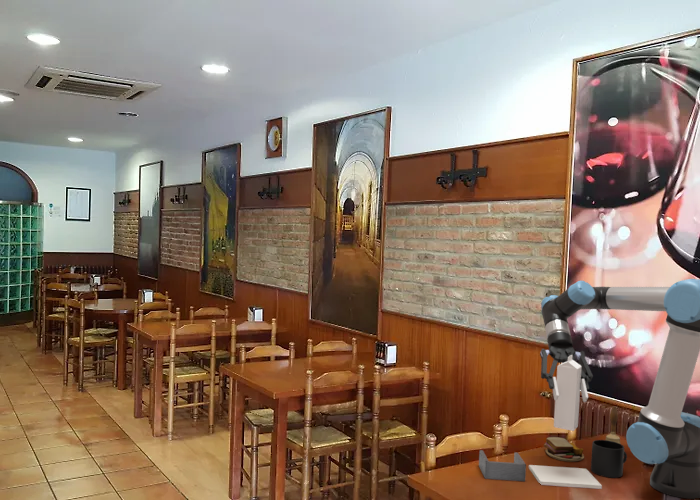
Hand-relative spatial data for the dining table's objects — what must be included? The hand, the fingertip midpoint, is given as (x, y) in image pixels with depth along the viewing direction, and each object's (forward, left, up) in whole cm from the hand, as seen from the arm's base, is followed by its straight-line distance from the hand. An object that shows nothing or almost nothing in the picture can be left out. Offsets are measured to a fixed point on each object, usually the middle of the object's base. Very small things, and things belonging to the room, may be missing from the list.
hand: (571, 398), depth 191 cm
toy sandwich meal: (-6, -25, -26) cm, 37 cm away
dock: (+19, -4, -25) cm, 32 cm away
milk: (0, -3, -10) cm, 10 cm away
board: (0, -3, -25) cm, 25 cm away
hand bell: (-26, -33, -26) cm, 49 cm away
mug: (-17, -11, -26) cm, 33 cm away
